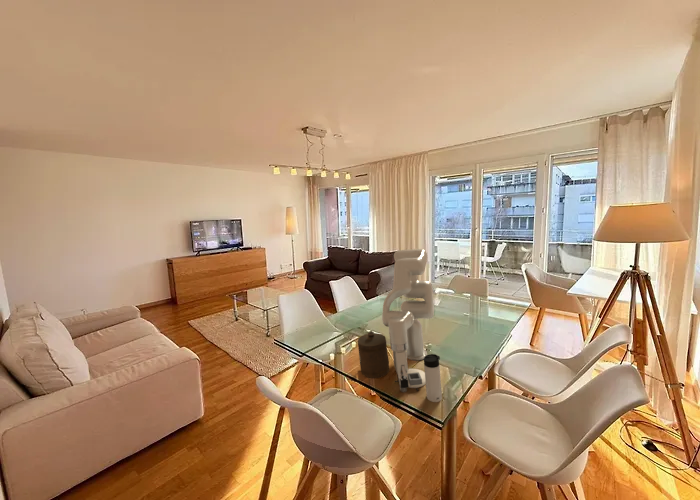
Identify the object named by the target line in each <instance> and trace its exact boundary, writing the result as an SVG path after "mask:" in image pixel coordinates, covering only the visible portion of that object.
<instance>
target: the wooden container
mask: <svg viewBox="0 0 700 500" xmlns="http://www.w3.org/2000/svg"><path fill="white" fill-rule="evenodd" d="M357 347H358V348H357V349H358V356H359V357H358V358H359V366H360V372H361V374H362V375H363V376H364V377H365V378H368V379H369V378H370V379H379V378H383V377H385V376H386V375H388V374H389V372H390V361H389V355H388V354H389V353H388V347H387V338H386V336H385V335H384V334H381V333H375V332H373V331H369V332H367V333H365V334H363V335H361V336H359V338H358V339H357Z"/></svg>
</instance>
